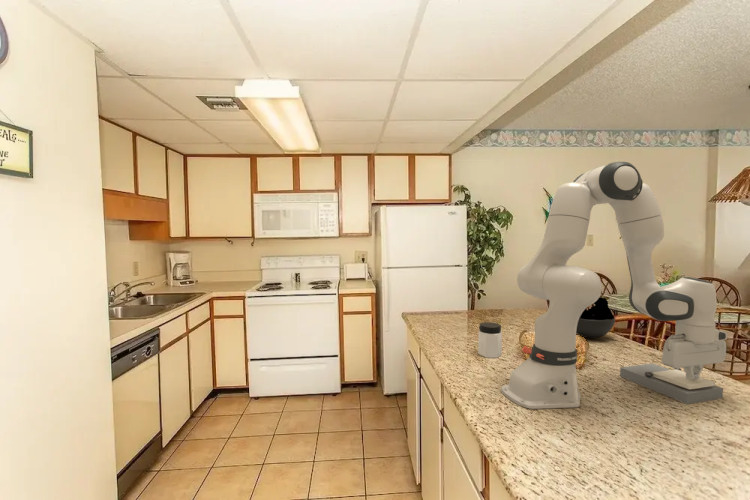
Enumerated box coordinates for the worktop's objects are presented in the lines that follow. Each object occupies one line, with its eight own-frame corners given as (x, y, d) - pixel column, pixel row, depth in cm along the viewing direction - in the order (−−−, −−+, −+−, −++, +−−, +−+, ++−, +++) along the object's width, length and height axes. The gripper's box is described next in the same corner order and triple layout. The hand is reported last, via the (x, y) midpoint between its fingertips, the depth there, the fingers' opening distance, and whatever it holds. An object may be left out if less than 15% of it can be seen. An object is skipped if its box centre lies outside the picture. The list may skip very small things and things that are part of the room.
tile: (651, 372, 117) (651, 376, 117) (689, 385, 106) (689, 390, 106) (675, 369, 120) (675, 373, 120) (715, 381, 109) (715, 386, 109)
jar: (474, 352, 150) (474, 323, 149) (490, 350, 153) (490, 321, 153) (489, 359, 142) (489, 328, 141) (505, 356, 145) (506, 326, 144)
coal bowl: (620, 345, 158) (622, 301, 157) (568, 341, 165) (569, 299, 164) (607, 333, 177) (609, 293, 176) (561, 329, 184) (562, 291, 183)
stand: (686, 404, 105) (687, 387, 105) (620, 376, 125) (620, 362, 125) (722, 398, 109) (723, 382, 109) (652, 371, 129) (652, 358, 129)
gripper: (679, 338, 104) (676, 387, 104) (732, 333, 109) (729, 379, 110) (656, 332, 110) (654, 378, 110) (707, 327, 115) (705, 372, 116)
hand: (692, 379), depth 110 cm, fingers closed
